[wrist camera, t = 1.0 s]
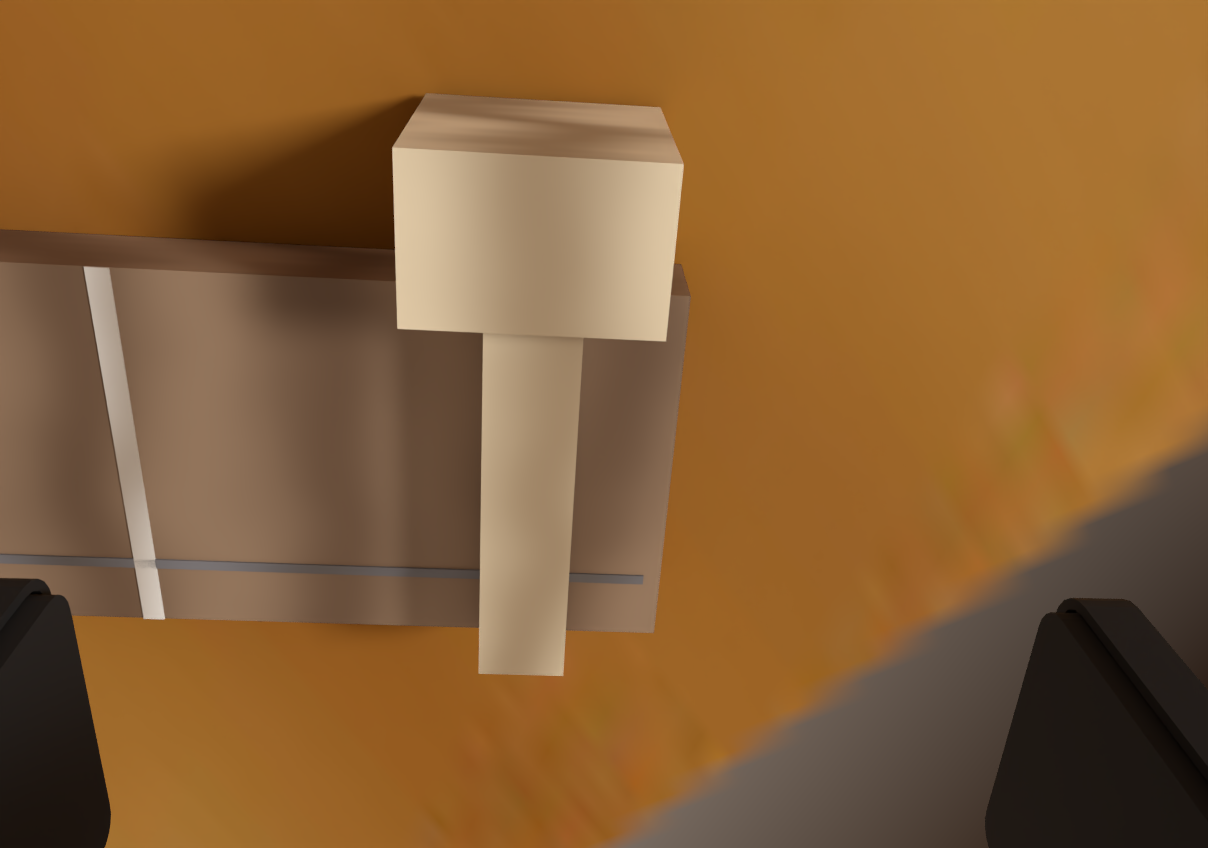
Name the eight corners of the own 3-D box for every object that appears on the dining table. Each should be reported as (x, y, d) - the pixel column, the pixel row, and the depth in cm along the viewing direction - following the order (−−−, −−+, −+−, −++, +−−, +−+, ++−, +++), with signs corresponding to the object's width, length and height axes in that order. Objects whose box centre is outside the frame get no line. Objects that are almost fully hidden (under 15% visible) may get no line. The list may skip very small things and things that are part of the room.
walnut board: (20, 563, 33) (-19, 613, 31) (-58, 226, 28) (-112, 256, 26) (648, 584, 35) (654, 634, 32) (681, 264, 29) (690, 296, 27)
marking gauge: (432, 577, 34) (407, 709, 28) (426, 92, 27) (392, 147, 21) (618, 583, 34) (628, 714, 29) (660, 107, 27) (683, 164, 22)
